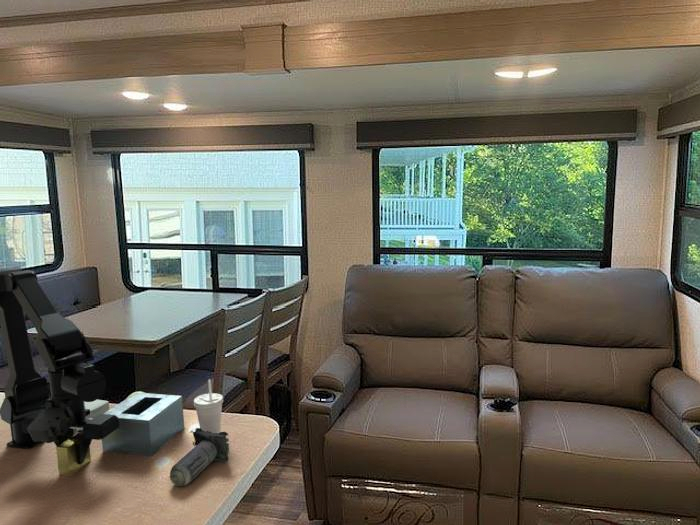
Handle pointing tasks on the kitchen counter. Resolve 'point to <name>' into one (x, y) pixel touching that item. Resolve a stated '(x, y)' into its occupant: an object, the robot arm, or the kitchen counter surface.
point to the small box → (96, 408)
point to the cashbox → (145, 423)
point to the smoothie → (209, 410)
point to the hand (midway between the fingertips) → (75, 462)
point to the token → (69, 458)
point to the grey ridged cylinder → (200, 456)
